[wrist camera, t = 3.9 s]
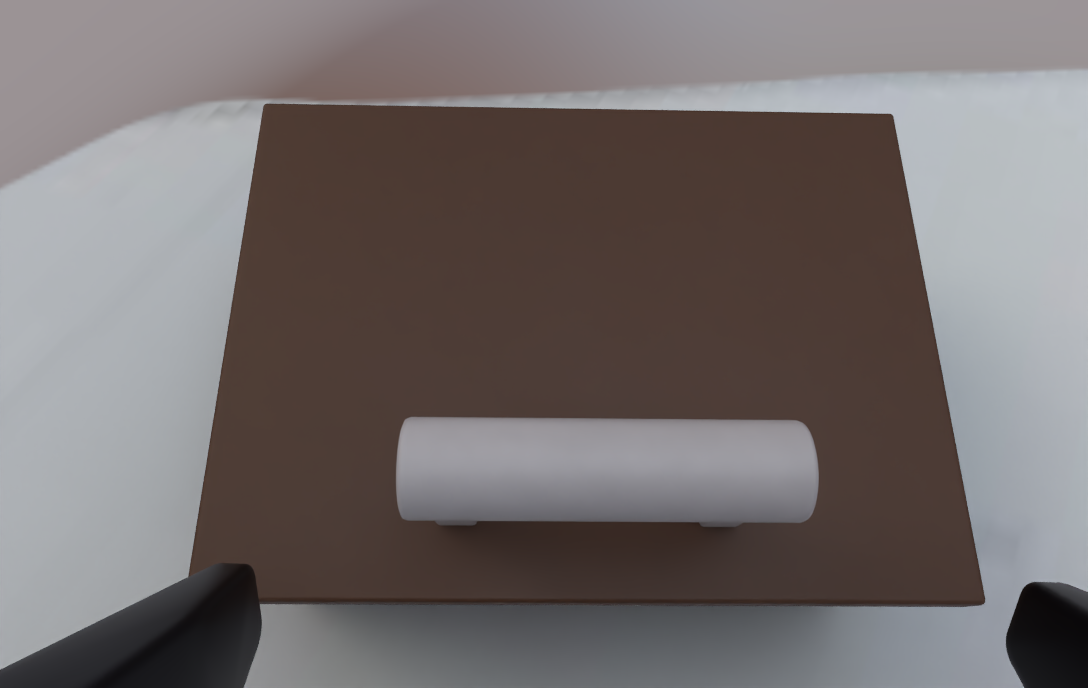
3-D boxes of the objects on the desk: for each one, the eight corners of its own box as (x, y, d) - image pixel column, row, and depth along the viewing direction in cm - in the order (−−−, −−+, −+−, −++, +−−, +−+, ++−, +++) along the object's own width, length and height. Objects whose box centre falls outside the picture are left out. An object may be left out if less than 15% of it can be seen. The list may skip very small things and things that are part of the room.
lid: (966, 607, 14) (1152, 589, 10) (198, 604, 14) (57, 584, 9) (880, 132, 17) (989, -27, 13) (272, 122, 17) (193, -43, 13)
